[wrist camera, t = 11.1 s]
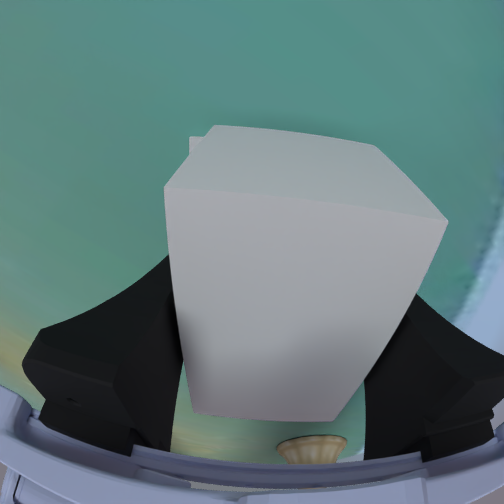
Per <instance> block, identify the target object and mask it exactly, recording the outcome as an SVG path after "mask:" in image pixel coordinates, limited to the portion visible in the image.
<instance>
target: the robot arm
mask: <svg viewBox="0 0 504 504" xmlns="http://www.w3.org/2000/svg"><path fill="white" fill-rule="evenodd" d="M182 364H183V354H182V348H181V342H180V335H179V329H178V322H177V315H176V308H175V301H174V293H173V285H172V276H171V268H170V258H169V255H168V256H166V257H165V258H164V259H163V260H162V261H161V262H160V263H159V264H158V265H156V266H155V267H154V268H153V269H152V270H151V271H149V272H148V273H147V274H146V275H144V276H143V277H142V278H141V279H139V280H138V281H137V282H135V283H134V284H133V285H131V286H130V287H128V288H127V289H125V290H124V291H122V292H121V293H119V294H117V295H116V296H114V297H112V298H111V299H109V300H107V301H105V302H104V303H102V304H100V305H98V306H96V307H94V308H92V309H90V310H88V311H86V312H84V313H82V314H80V315H78V316H75V317H73V318H71V319H68V320H66V321H63V322H60V323H57V324H55V325H52V326H49V327H46V328H43V329H41V330H40V331H39V333H38V335H37V336H36V338H35V340H34V341H33V343H32V345H31V347H30V348H29V350H28V352H27V354H26V355H25V357H24V359H23V361H22V367H23V370H24V373H25V375H26V376H27V377H28V379H29V380H30V381H31V383H32V384H33V385H34V386H35V388H36V389H37V390H38V391H39V392H40V393H41V395H42V396H43V397H44V398H45V399H46V400H45V403H44V405H43V407H42V410H41V412H40V411H38V410H36V409H34V408H32V407H31V405H30V404H29V403H28V402H27V401H26V400H25V399H24V398H23V397H22V396H20V395H19V394H17V393H15V392H14V391H12V390H10V389H8V388H6V387H4V386H2V385H0V462H1V463H3V464H4V465H6V466H8V468H7V471H6V474H5V478H4V481H3V485H2V488H1V493H2V494H1V497H0V504H469V503H471V502H473V501H475V500H477V499H479V498H481V497H483V496H485V495H487V494H489V493H491V492H492V491H494V490H496V489H498V488H500V487H502V486H503V485H504V422H503V423H502V424H501V425H499V426H498V427H497V428H496V429H495V430H493V429H492V425H491V422H490V419H492V418H493V417H494V413H493V410H492V408H493V407H494V406H495V405H497V403H499V402H500V401H501V400H502V399H503V398H504V355H502V354H500V353H498V352H496V351H493V350H492V349H490V348H488V347H486V346H484V345H483V344H481V343H479V342H477V341H476V340H474V339H472V338H471V337H470V336H468V335H466V334H465V333H464V332H462V331H461V330H459V329H458V328H456V327H455V326H454V325H452V324H451V323H450V322H448V321H447V320H446V319H445V318H443V317H442V316H441V315H440V314H438V313H437V312H436V311H435V310H434V309H432V308H431V307H430V306H429V305H428V304H427V303H426V302H425V301H424V300H423V299H422V298H420V297H419V296H418V295H417V294H415V296H414V298H413V300H412V302H411V304H410V305H409V307H408V309H407V311H406V313H405V314H404V316H403V318H402V320H401V322H400V323H399V325H398V327H397V328H396V330H395V332H394V334H393V335H392V337H391V339H390V340H389V342H388V343H387V345H386V347H385V348H384V350H383V351H382V353H381V355H380V356H379V358H378V359H377V361H376V362H375V364H374V365H373V367H372V368H371V370H370V371H369V373H368V374H367V376H366V377H365V379H364V387H365V405H366V433H365V449H364V460H363V461H355V462H344V463H328V464H259V463H244V462H232V461H223V460H214V459H207V458H200V457H193V456H187V455H181V454H176V453H170V446H171V437H172V427H173V420H174V412H175V405H176V399H177V392H178V386H179V381H180V375H181V370H182ZM181 479H182V480H181ZM185 480H188V481H194V482H201V483H208V484H216V485H224V486H235V487H248V488H269V489H272V488H273V489H294V490H269V491H258V492H234V491H217V490H204V489H194V488H191V484H190V483H189V482H188V481H185ZM377 481H381V482H377ZM371 482H375V483H371ZM364 483H368V484H364ZM356 484H361V485H356ZM347 485H353V486H347ZM337 486H344V487H337ZM325 487H333V488H325ZM304 488H318V489H304Z"/></svg>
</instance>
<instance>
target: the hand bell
mask: <svg viewBox="0 0 504 504" xmlns="http://www.w3.org/2000/svg"><path fill="white" fill-rule="evenodd" d="M346 444H347V440H346V439H345V438H343V437H340V436H333V435H321V436H318V435H316V436H307V437H300V438H296V439H291V440H287V441H285V442H283V443H281V444H279V445H278V446H277V451H278V453H279V454H280V455H281V456H283V457H284V458H285V460H286V461H287V463H288V464H328V463H336V460H337V458H338V456H339V454H340V453H341V451H342V450H343V449H344V448H345V446H346ZM325 488H327V487H325ZM304 489H318V488H304Z"/></svg>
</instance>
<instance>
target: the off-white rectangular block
mask: <svg viewBox="0 0 504 504" xmlns="http://www.w3.org/2000/svg"><path fill="white" fill-rule="evenodd" d="M164 198H165V213H166V226H167V237H168V248H169V258H170V268H171V276H172V285H173V293H174V301H175V308H176V315H177V322H178V329H179V335H180V342H181V348H182V354H183V360H184V365H185V371H186V376H187V382H188V387H189V392H190V397H191V402H192V407H193V411H194V413H198V414H205V415H212V416H221V417H229V418H240V419H251V420H266V421H289V422H333V421H334V419H335V418H336V417H337V415H338V414H339V413H340V412H341V410H342V409H343V408H344V406H345V405H346V404H347V402H348V401H349V400H350V398H351V397H352V396H353V394H354V393H355V391H356V390H357V389H358V387H359V386H360V384H361V383H362V382H363V380H364V379H365V377H366V376H367V374H368V373H369V371H370V370H371V368H372V367H373V365H374V364H375V362H376V361H377V359H378V358H379V356H380V355H381V353H382V351H383V350H384V348H385V347H386V345H387V343H388V342H389V340H390V339H391V337H392V335H393V334H394V332H395V330H396V328H397V327H398V325H399V323H400V322H401V320H402V318H403V316H404V314H405V313H406V311H407V309H408V307H409V305H410V304H411V302H412V300H413V298H414V296H415V294H416V292H417V290H418V288H419V286H420V284H421V282H422V280H423V278H424V276H425V274H426V272H427V270H428V268H429V266H430V264H431V262H432V259H433V257H434V255H435V253H436V251H437V248H438V246H439V244H440V241H441V239H442V237H443V234H444V232H445V229H446V227H447V225H448V220H447V219H446V218H445V217H444V216H443V215H442V214H441V212H440V211H439V210H438V209H437V208H436V207H435V206H434V204H433V203H432V202H431V201H430V200H429V199H428V198H427V197H426V196H425V195H424V194H423V192H422V191H421V190H420V189H419V188H418V187H417V186H416V185H415V184H414V183H413V182H412V181H411V180H410V179H409V178H408V177H407V176H406V175H405V174H404V173H403V172H402V171H401V170H400V169H399V168H398V167H397V166H396V165H395V164H394V163H393V162H392V161H391V160H390V159H389V158H388V157H387V156H385V155H384V154H383V153H382V152H381V151H380V150H379V149H378V148H377V147H376V146H375V145H370V144H365V143H360V142H355V141H349V140H344V139H338V138H332V137H326V136H320V135H313V134H306V133H298V132H290V131H282V130H273V129H263V128H252V127H239V126H223V125H214V126H213V127H212V128H211V130H210V131H209V132H208V133H207V134H206V135H205V137H204V138H203V139H202V140H201V141H200V143H199V144H198V145H197V146H196V147H195V149H194V150H193V151H192V152H191V153H190V155H189V156H188V157H187V158H186V160H185V161H184V162H183V163H182V165H181V166H180V167H179V168H178V170H177V171H176V172H175V173H174V175H173V176H172V177H171V179H170V180H169V181H168V183H167V184H166V185H165V186H164Z"/></svg>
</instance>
